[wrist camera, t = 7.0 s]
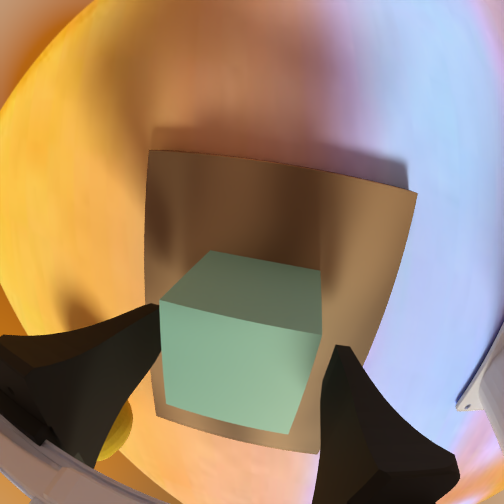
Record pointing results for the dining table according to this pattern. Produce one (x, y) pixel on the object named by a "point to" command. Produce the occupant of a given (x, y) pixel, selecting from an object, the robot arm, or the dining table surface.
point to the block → (241, 339)
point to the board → (277, 255)
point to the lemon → (117, 432)
